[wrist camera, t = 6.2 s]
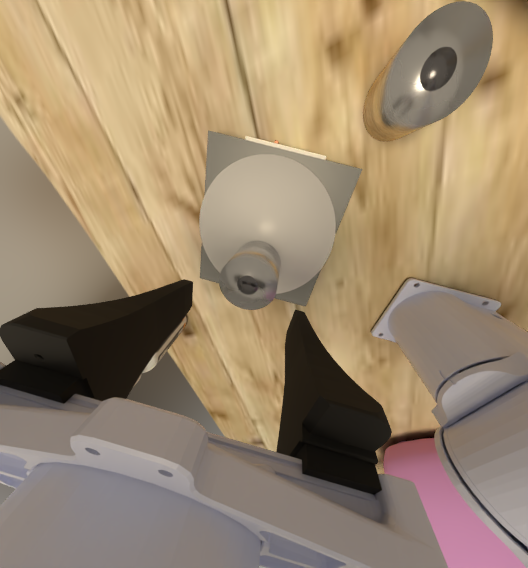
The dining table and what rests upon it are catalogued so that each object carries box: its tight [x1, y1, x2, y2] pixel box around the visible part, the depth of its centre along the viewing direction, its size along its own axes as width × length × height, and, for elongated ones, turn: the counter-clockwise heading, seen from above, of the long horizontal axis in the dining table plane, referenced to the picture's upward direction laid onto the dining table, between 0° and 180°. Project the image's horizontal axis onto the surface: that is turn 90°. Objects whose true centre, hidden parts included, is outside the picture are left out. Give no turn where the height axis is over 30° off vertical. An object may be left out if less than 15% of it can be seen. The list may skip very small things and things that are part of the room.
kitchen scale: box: [199, 131, 362, 306], centre depth 18 cm, size 12×14×3 cm
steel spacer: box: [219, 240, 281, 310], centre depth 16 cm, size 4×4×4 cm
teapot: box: [384, 438, 526, 568], centre depth 28 cm, size 23×21×15 cm
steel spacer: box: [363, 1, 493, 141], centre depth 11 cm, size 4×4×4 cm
